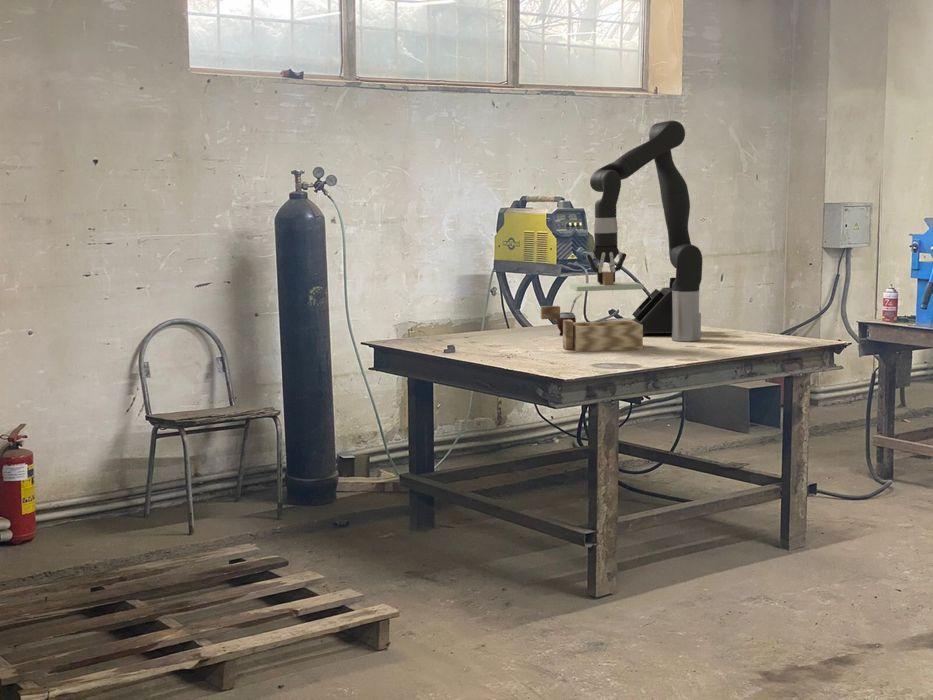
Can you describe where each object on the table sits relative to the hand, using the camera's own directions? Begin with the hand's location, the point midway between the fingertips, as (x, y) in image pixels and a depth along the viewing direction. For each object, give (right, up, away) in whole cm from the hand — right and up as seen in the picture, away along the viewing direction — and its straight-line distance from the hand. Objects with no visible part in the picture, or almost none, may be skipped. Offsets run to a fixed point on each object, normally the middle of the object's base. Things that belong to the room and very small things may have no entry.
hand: (606, 283), depth 374 cm
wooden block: (-18, -12, 0) cm, 22 cm away
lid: (0, -2, 0) cm, 2 cm away
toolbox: (-1, -21, +3) cm, 21 cm away
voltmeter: (+23, -16, +38) cm, 48 cm away
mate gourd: (-9, -17, +39) cm, 44 cm away
